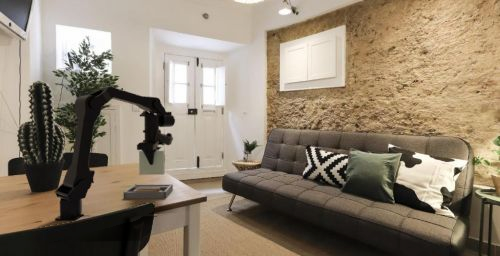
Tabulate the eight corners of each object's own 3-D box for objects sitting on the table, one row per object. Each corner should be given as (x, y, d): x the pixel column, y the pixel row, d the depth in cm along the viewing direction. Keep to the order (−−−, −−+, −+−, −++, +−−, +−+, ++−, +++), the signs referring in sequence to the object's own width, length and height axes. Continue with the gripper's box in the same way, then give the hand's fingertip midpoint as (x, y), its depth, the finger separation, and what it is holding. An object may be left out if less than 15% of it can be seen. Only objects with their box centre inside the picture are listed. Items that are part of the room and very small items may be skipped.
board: (163, 174, 112) (163, 150, 111) (139, 174, 111) (139, 150, 111) (164, 173, 113) (164, 150, 113) (140, 173, 113) (140, 150, 112)
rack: (165, 199, 103) (165, 191, 103) (123, 200, 102) (123, 192, 102) (172, 190, 115) (172, 184, 115) (135, 191, 114) (135, 184, 114)
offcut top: (156, 193, 105) (156, 190, 105) (133, 194, 104) (133, 191, 104) (159, 190, 110) (159, 187, 110) (137, 190, 109) (137, 187, 109)
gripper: (165, 128, 102) (165, 168, 103) (176, 126, 121) (176, 160, 122) (136, 128, 102) (136, 168, 102) (151, 126, 120) (151, 160, 121)
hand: (152, 164), depth 112 cm, fingers closed on board, 2 cm apart
